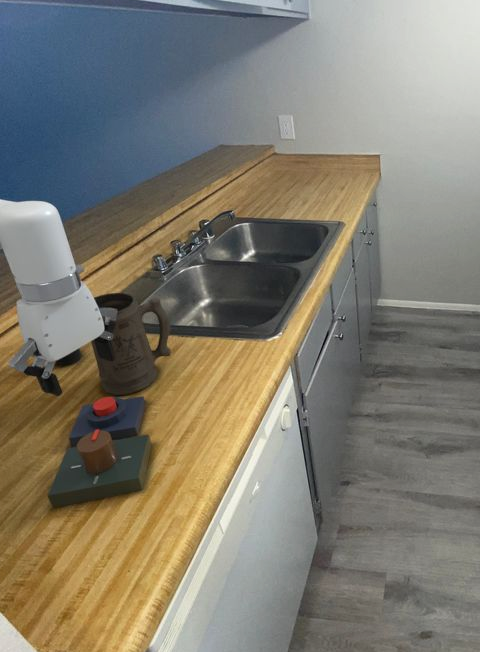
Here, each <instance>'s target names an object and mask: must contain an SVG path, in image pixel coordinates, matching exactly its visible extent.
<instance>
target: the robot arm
mask: <svg viewBox="0 0 480 652" xmlns="http://www.w3.org/2000/svg"><path fill="white" fill-rule="evenodd" d="M0 250H3V253H4V255H5V258H6V261H7V263H8V265H9V268H10V271H11V273H12V276H13V279H14V281H15V284H16V287H17V289H18V292H19V295H20V297H21V298H19V299H18V300H16V314H17V321H18V327H19V330H20V333H21V338H22V340H23V345H22V347H20V348H19V350H18V351H17V352H16V353H15V354H14V355H13V357H12V358H11V359H10V360H9V361H8V363H7V364H8V366H9V367H11V369H14V370H15V371H18V372H19V373H20V374H23V375H27V376H30V377H36V379H37V381H38V385H39V386H40V389H41V391H42V392H43V393H45V394H50V395H53V396H56V397H60V396H61V395H62V394H63V389H62V387H61V385H60V382H59V379H58V377H57V375H56V374H55V373H53V370H54V367H55V364H56V361H57V360H59V359H61V358H63V357H65V356H66V355H68V354H70V353H72V352H73V351H75V350H77V349H81V348H82V347H84V346H85V345H87V344H90V342H91V341H92V340H94V343H95V346H96V350H97V353H98V356H99V358H102V359H105V360H108V361H114V360H115V355H114V349H113V346H112V342H111V340H112V339H113V334H112V333H113V331H114V329H115V326H116V322H115V320H116V318H117V312H118V310H117V309H114V308H98V306H97V304H96V302H95V299H94V295H93V294H92V292H91V290H90V289H89V288H88V285H86V283H85V281H82V279H81V273H84V272H85V267H84V266H83V265H82V264H76V262H75V260H74V257H73V253H72V250H71V247H70V243H69V241H68V237H67V234H66V231H65V228H64V225H63V222H62V218H61V216H60V213H59V211H58V208H57V207H56V206H54V205H53V204H52V203H50V202H47V201H40V200H25V201H11V200H7V199H6V200H5V199H1V198H0ZM102 316H105V320H104V322H103V319H102ZM31 357H33V358H34V360H33V362H32V365H29V364H28V360H29V359H31Z"/></svg>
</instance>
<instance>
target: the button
mask: <svg viewBox="0 0 480 652" xmlns="http://www.w3.org/2000/svg"><path fill="white" fill-rule="evenodd" d="M93 404H94V405H93V408H94V411H95V414H96V415H97V416H99V417H102V416H107V415H109V414H111V413H113V412H114V411H116V409H117V405H116V402H115V399H114V398H112V396H106V397H101V398H100V399H97V400H96V401H95V402H94V403H93Z"/></svg>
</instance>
